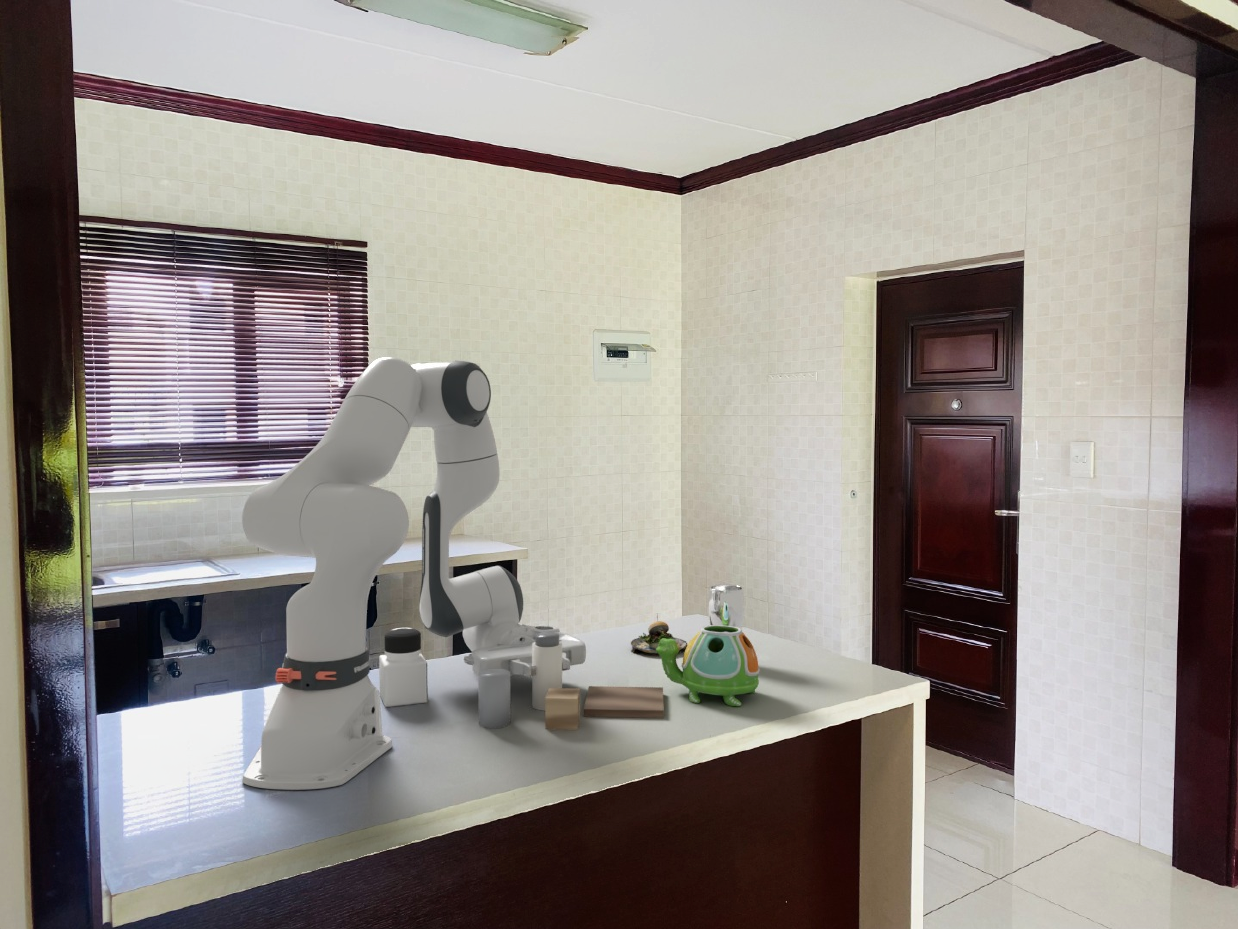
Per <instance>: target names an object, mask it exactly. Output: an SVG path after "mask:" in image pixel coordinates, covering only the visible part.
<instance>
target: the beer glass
mask: <svg viewBox="0 0 1238 929" xmlns="http://www.w3.org/2000/svg"><path fill="white" fill-rule="evenodd" d="M744 593H745V592H744V587H743V586H741V585H736V584H729V583H726V584H725V583H724V584H721V583H720V584H713V585H710V587H709V594H708V596H709V597H708V621H709V625H724V626H733V627H738V628H741V629H743V624H744V619H745V595H744ZM723 633H729V632H723Z"/></svg>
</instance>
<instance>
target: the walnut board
mask: <svg viewBox="0 0 1238 929" xmlns="http://www.w3.org/2000/svg"><path fill="white" fill-rule="evenodd" d="M587 688H588V689H587V693H586V697H585V701H584V706H583V714H582V715H583V717H593V718H594V717H598V718H599V717H602V718H603V717H604V718H605V717H606V718H649V719H650V718H654V719H655V718H658V719H660V718H661V719H663V718H664V715H665V714H664V712H665V710H664V687H658V686H657V687H653V686H601V685H600V686H598V685H596V686H594V685H593V686H592V685H591V686H588V687H587Z"/></svg>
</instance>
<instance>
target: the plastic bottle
mask: <svg viewBox="0 0 1238 929" xmlns="http://www.w3.org/2000/svg"><path fill="white" fill-rule="evenodd" d="M532 663H533V664H534V665H536V675H535V676H531V679H532V680H531V681H532V682H531V685H532V688H531V690H532V691H531V692H532V693H531V696H532V697H531V698H532V699H531V701H532V702H531V703H532V704H531V706H532V708H533V709H535V710H538V711H545V698H546V695H547V692H548V689H549V688H563V671H562V643H561V642H559V634H557V633H553V632H543V633H538V634H536V635H535V642H534V643H533V644H532Z"/></svg>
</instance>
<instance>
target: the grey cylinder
mask: <svg viewBox="0 0 1238 929" xmlns="http://www.w3.org/2000/svg"><path fill="white" fill-rule="evenodd" d="M477 677H478V679H477V680H478V682H477V683H478V691H477V692H478V725H479V726H480V727H481V728H486V729H499V728H504V727H507V726H508V725H510V724H511V676H510V671H508V670H505V669H487V670H483V671H481V672H479V673H478V676H477Z"/></svg>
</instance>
